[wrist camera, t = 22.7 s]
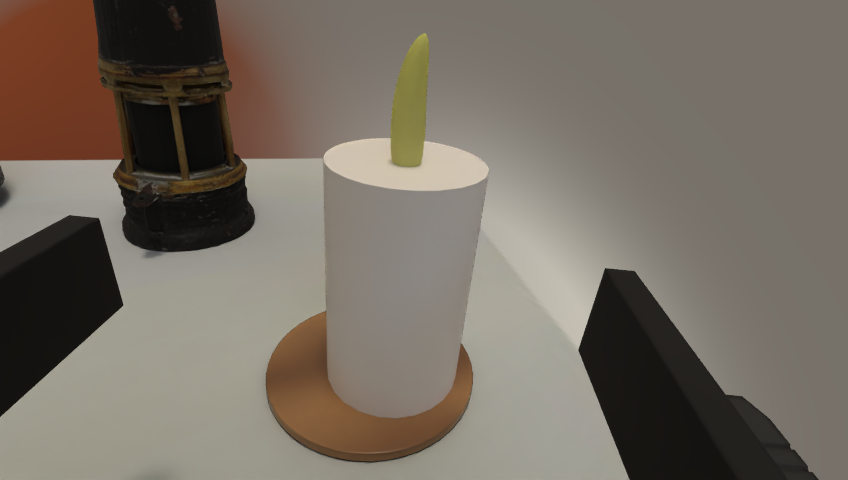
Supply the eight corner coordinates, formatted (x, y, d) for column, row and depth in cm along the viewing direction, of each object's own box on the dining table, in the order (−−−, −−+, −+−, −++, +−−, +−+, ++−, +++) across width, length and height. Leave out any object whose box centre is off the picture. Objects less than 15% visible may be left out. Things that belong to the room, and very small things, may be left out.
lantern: (143, 264, 28) (-44, -511, 14) (109, 214, 34) (-50, -379, 20) (275, 230, 34) (231, -347, 20) (227, 192, 40) (167, -280, 26)
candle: (425, 314, 25) (457, 31, 19) (478, 399, 20) (549, 46, 13) (316, 333, 23) (305, 18, 16) (342, 434, 18) (344, 30, 11)
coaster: (513, 413, 20) (514, 405, 20) (294, 502, 16) (293, 494, 16) (416, 296, 28) (416, 289, 28) (250, 334, 23) (249, 326, 23)
